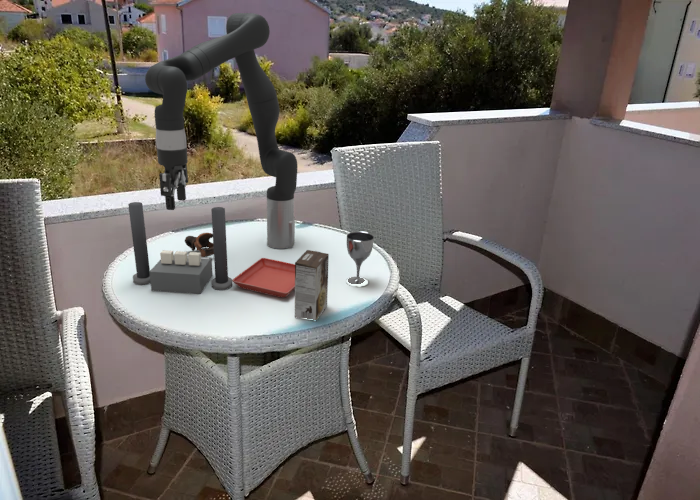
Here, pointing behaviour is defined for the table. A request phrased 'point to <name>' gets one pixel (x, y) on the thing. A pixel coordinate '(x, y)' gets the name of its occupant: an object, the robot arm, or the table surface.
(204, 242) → the brown curved piece
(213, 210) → the post
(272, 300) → the table surface
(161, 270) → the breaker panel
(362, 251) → the wine glass
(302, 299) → the coffee box
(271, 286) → the plant saucer
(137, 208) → the post
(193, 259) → the paddles
